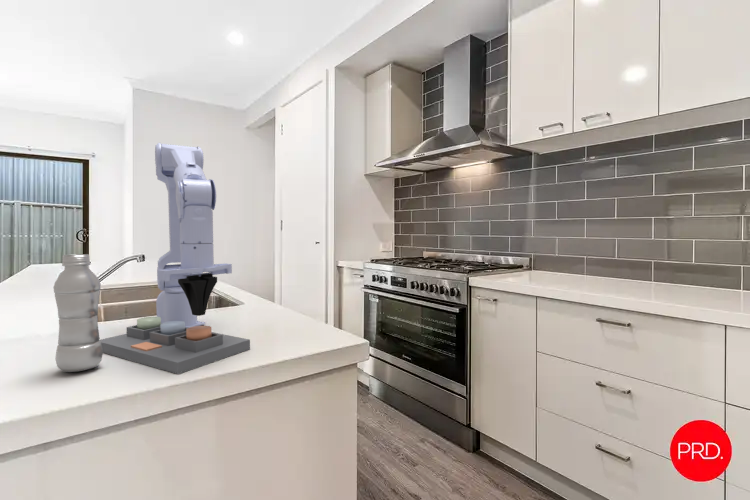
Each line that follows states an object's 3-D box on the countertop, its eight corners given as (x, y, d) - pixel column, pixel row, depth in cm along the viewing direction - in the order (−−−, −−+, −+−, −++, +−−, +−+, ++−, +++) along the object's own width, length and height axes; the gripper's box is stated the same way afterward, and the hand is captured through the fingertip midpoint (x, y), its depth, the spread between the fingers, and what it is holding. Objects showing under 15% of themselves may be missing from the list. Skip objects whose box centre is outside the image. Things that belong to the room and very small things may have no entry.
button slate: (155, 334, 80) (155, 324, 80) (176, 329, 84) (175, 319, 84) (169, 337, 78) (169, 327, 78) (189, 332, 82) (189, 322, 82)
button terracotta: (181, 340, 76) (181, 329, 76) (201, 334, 80) (201, 324, 80) (196, 343, 74) (196, 332, 74) (216, 337, 78) (216, 327, 78)
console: (95, 350, 81) (95, 331, 80) (170, 332, 95) (169, 315, 94) (177, 374, 68) (177, 351, 68) (250, 349, 82) (249, 330, 82)
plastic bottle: (72, 364, 73) (67, 253, 72) (111, 363, 73) (107, 253, 72) (46, 377, 66) (40, 256, 65) (89, 376, 67) (84, 256, 66)
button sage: (132, 329, 84) (132, 319, 84) (153, 324, 88) (152, 315, 88) (145, 331, 82) (144, 322, 82) (165, 327, 86) (165, 318, 86)
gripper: (174, 245, 68) (177, 325, 69) (242, 242, 80) (243, 310, 81) (149, 244, 71) (152, 320, 72) (217, 241, 84) (219, 306, 85)
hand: (198, 314), depth 77 cm, fingers closed
